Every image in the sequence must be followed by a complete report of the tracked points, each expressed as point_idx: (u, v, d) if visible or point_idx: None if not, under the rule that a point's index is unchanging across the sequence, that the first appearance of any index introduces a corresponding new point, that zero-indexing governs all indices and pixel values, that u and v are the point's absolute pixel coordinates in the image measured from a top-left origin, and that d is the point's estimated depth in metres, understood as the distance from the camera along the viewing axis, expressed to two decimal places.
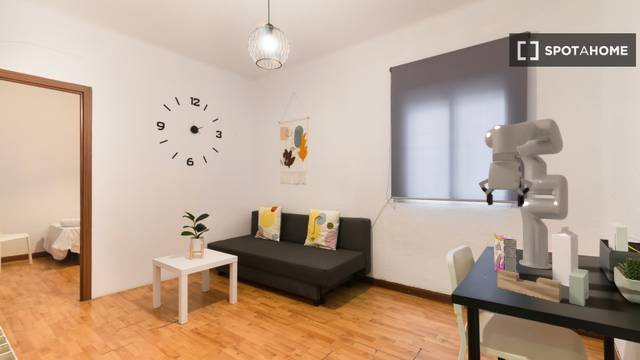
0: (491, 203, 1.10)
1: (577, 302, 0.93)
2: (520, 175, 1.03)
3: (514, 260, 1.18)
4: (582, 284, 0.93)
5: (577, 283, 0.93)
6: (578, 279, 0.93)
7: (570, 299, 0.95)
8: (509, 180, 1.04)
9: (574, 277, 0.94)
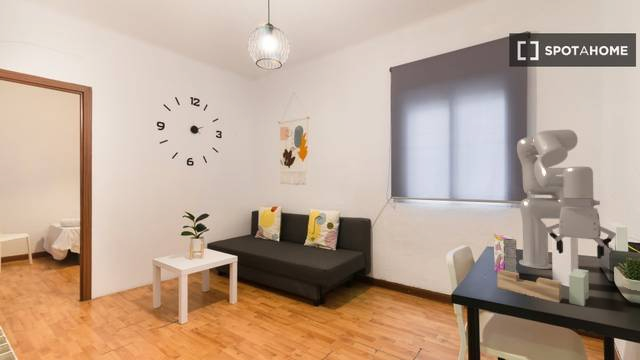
0: (562, 251, 1.00)
1: (577, 302, 0.93)
2: (599, 223, 0.93)
3: (513, 260, 1.18)
4: (582, 284, 0.93)
5: (577, 283, 0.93)
6: (578, 279, 0.93)
7: (570, 299, 0.95)
8: (586, 228, 0.94)
9: (574, 277, 0.94)
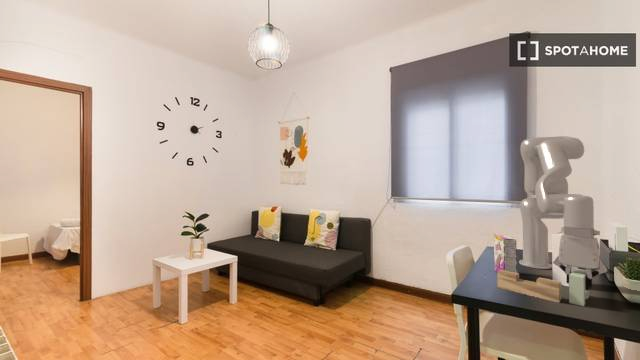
0: None
1: (577, 302, 0.93)
2: (599, 253, 0.94)
3: (513, 260, 1.18)
4: (582, 284, 0.93)
5: (577, 283, 0.93)
6: (578, 279, 0.93)
7: (570, 299, 0.95)
8: (586, 258, 0.94)
9: (574, 277, 0.94)
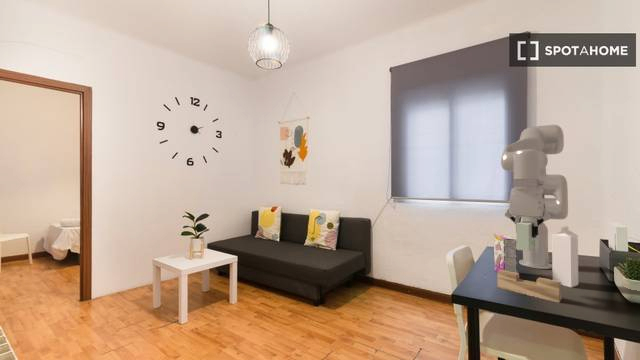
0: None
1: (523, 248, 0.99)
2: (544, 202, 0.99)
3: (513, 260, 1.18)
4: (527, 230, 0.98)
5: (523, 230, 0.99)
6: (524, 226, 0.99)
7: (517, 246, 1.00)
8: (532, 207, 1.00)
9: (520, 225, 1.00)
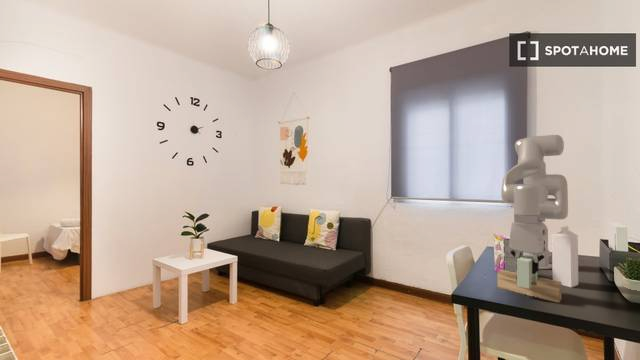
0: None
1: (523, 285, 0.99)
2: (544, 239, 0.99)
3: (513, 260, 1.18)
4: (528, 267, 0.98)
5: (523, 267, 0.99)
6: (524, 263, 0.99)
7: (517, 282, 1.00)
8: (533, 244, 1.00)
9: (521, 261, 1.00)
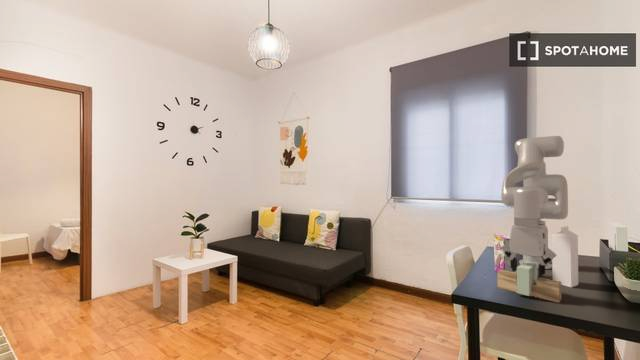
0: (515, 269, 1.06)
1: (523, 292, 0.99)
2: (544, 242, 0.99)
3: None
4: (528, 275, 0.98)
5: (523, 274, 0.99)
6: (524, 271, 0.99)
7: (517, 289, 1.01)
8: (533, 247, 1.00)
9: (521, 269, 1.00)
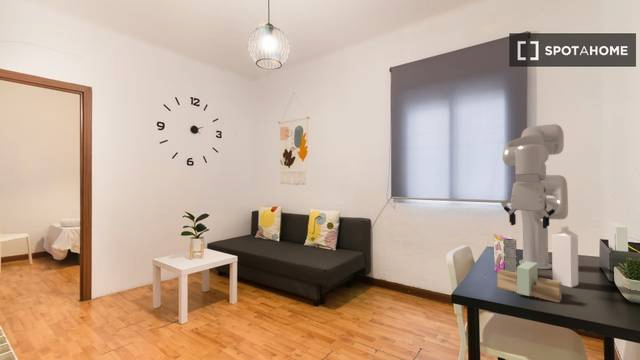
0: (514, 223, 1.09)
1: (523, 292, 0.99)
2: (545, 196, 1.02)
3: (513, 260, 1.18)
4: (528, 275, 0.98)
5: (523, 274, 0.99)
6: (524, 271, 0.99)
7: (517, 289, 1.01)
8: (534, 201, 1.02)
9: (521, 269, 1.00)
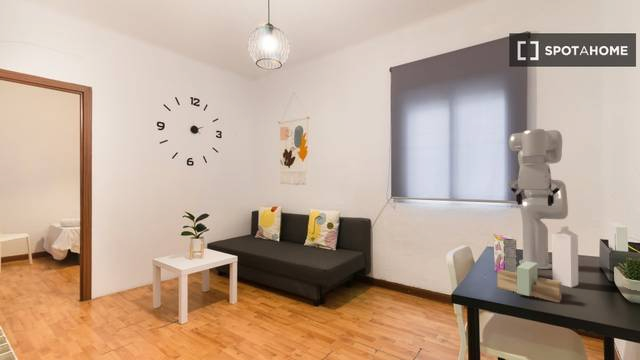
0: (521, 203, 1.17)
1: (523, 292, 0.99)
2: (550, 176, 1.10)
3: (513, 260, 1.18)
4: (528, 275, 0.98)
5: (523, 274, 0.99)
6: (524, 271, 0.99)
7: (517, 289, 1.01)
8: (539, 181, 1.11)
9: (521, 269, 1.00)
